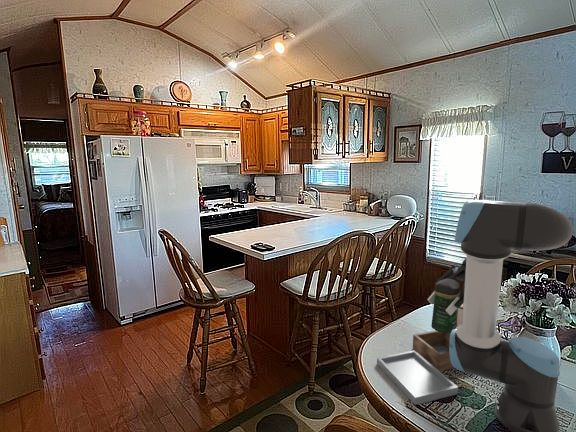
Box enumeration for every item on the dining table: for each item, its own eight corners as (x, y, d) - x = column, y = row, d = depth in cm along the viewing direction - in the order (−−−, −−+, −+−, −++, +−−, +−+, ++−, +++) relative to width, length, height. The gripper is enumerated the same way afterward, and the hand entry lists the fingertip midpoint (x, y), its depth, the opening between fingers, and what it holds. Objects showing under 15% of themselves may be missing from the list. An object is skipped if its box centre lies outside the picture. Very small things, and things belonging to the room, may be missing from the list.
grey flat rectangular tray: (457, 394, 112) (458, 387, 112) (414, 404, 107) (415, 397, 107) (414, 356, 133) (414, 350, 132) (376, 363, 128) (377, 357, 128)
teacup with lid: (472, 329, 152) (474, 303, 150) (449, 323, 157) (451, 299, 155) (474, 317, 162) (476, 294, 160) (452, 313, 167) (454, 290, 165)
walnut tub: (473, 363, 128) (474, 348, 127) (439, 371, 123) (440, 355, 122) (444, 342, 142) (445, 328, 141) (412, 348, 138) (413, 334, 136)
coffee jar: (450, 337, 125) (455, 287, 121) (428, 329, 130) (431, 281, 127) (459, 327, 132) (464, 280, 128) (438, 320, 137) (441, 275, 134)
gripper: (508, 277, 121) (466, 326, 119) (460, 259, 141) (424, 301, 140) (497, 263, 119) (455, 314, 117) (450, 247, 139) (414, 290, 137)
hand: (438, 307), depth 128 cm, fingers closed on coffee jar, 9 cm apart
